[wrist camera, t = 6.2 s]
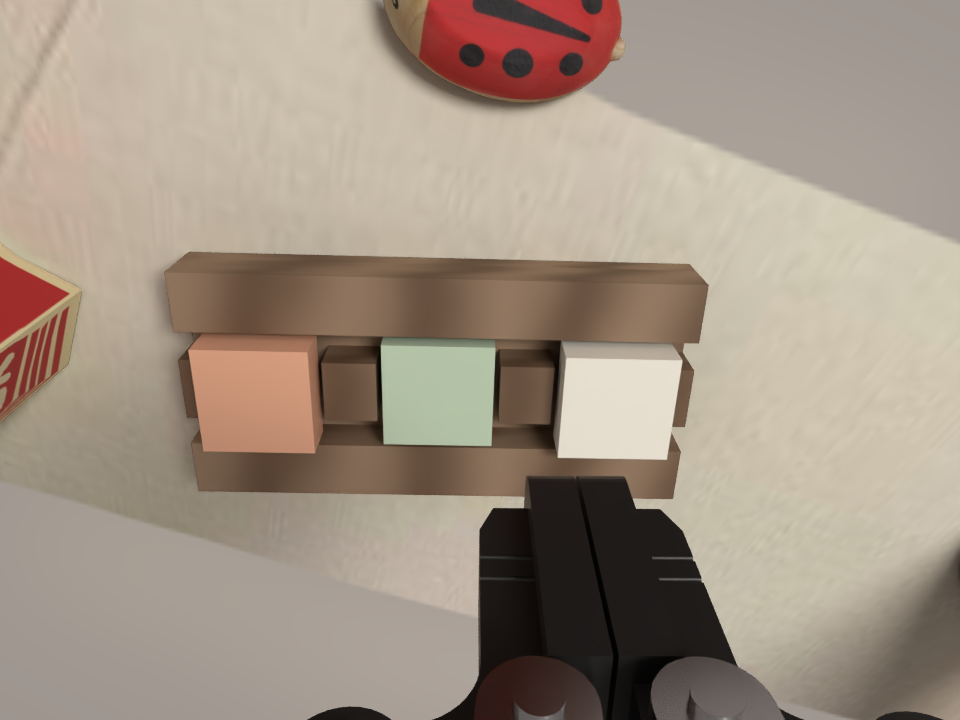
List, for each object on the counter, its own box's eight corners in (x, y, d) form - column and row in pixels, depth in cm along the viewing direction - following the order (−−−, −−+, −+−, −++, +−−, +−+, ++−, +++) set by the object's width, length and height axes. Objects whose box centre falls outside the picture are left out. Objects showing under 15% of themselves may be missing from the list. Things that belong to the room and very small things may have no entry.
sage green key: (494, 330, 34) (495, 347, 32) (490, 424, 36) (491, 446, 34) (385, 328, 34) (380, 345, 32) (388, 422, 36) (383, 444, 34)
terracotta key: (316, 334, 33) (307, 352, 31) (323, 431, 35) (314, 453, 33) (203, 331, 33) (188, 349, 31) (217, 429, 35) (203, 451, 33)
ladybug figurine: (402, -122, 28) (393, -140, 25) (648, -48, 29) (670, -57, 26) (369, 63, 31) (357, 68, 27) (595, 124, 32) (609, 135, 28)
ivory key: (671, 341, 33) (682, 360, 31) (656, 437, 35) (666, 459, 34) (561, 339, 33) (566, 357, 31) (553, 435, 35) (557, 457, 33)
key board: (689, 264, 34) (708, 285, 31) (658, 465, 39) (672, 498, 36) (189, 252, 34) (164, 272, 31) (218, 457, 38) (198, 490, 35)
